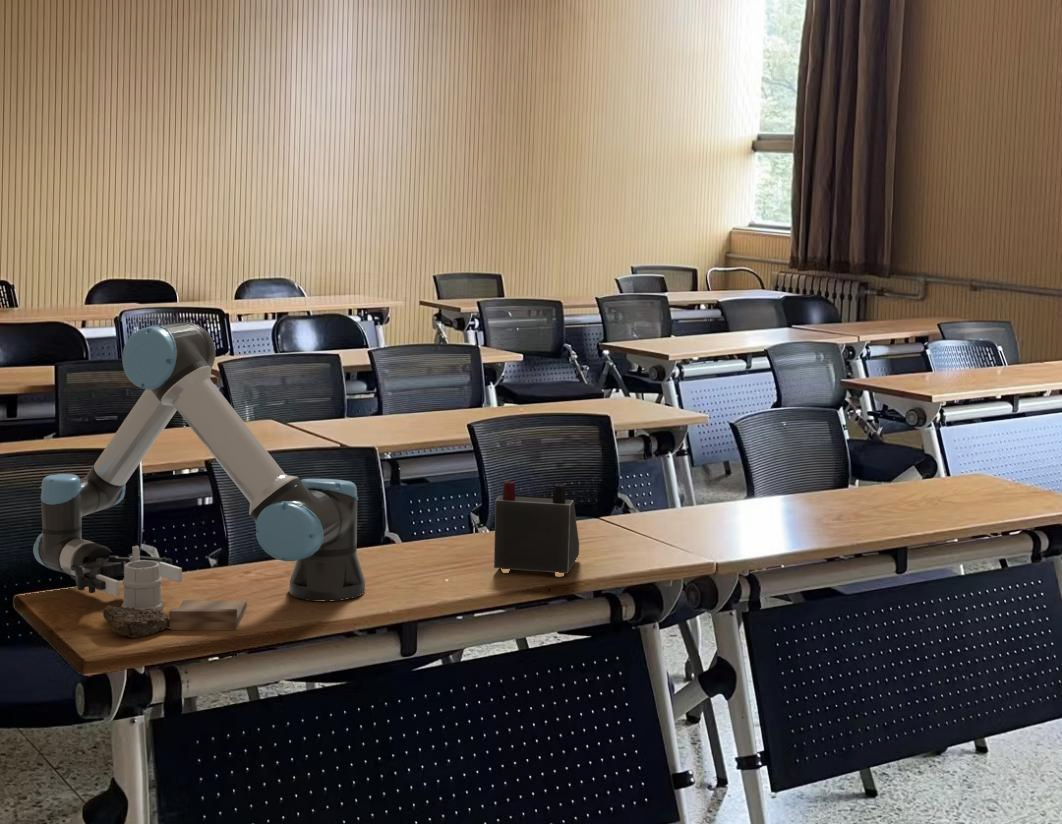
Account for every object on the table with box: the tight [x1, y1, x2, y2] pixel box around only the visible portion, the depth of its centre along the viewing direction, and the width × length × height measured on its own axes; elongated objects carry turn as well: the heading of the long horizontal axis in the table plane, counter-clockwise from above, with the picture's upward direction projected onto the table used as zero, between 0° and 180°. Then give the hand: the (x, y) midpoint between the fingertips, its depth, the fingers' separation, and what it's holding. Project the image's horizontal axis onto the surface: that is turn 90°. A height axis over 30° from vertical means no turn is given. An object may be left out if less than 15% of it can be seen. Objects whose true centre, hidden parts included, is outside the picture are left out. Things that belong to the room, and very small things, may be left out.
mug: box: [121, 545, 165, 613], centre depth 260 cm, size 8×12×12 cm, turn 27°
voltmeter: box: [493, 480, 580, 574], centre depth 301 cm, size 16×16×20 cm
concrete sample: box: [102, 605, 169, 639], centre depth 249 cm, size 12×10×5 cm
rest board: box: [168, 599, 248, 631], centre depth 258 cm, size 12×14×4 cm
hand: (149, 581), depth 258 cm, fingers open, 13 cm apart
